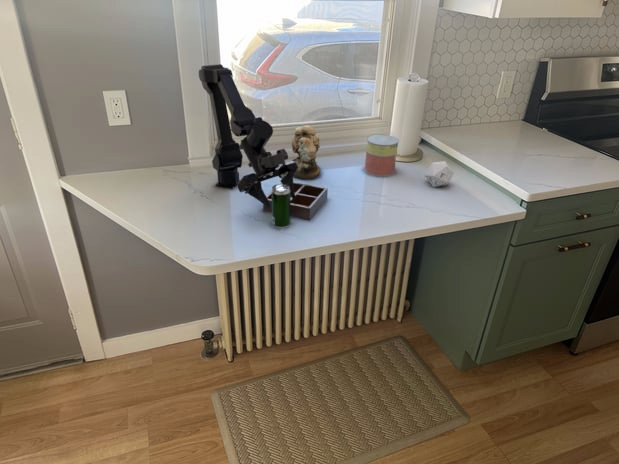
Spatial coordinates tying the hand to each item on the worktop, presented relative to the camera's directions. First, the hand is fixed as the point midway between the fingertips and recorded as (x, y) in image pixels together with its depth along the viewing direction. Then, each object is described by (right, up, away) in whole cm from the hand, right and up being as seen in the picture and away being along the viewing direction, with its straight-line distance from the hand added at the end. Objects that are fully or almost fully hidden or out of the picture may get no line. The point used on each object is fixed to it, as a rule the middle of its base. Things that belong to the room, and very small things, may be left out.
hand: (281, 202), depth 133 cm
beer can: (0, -7, +4) cm, 8 cm away
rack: (+4, 0, +15) cm, 16 cm away
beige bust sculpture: (+6, +14, +40) cm, 43 cm away
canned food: (+34, +14, +41) cm, 56 cm away
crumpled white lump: (+53, +8, +31) cm, 62 cm away
